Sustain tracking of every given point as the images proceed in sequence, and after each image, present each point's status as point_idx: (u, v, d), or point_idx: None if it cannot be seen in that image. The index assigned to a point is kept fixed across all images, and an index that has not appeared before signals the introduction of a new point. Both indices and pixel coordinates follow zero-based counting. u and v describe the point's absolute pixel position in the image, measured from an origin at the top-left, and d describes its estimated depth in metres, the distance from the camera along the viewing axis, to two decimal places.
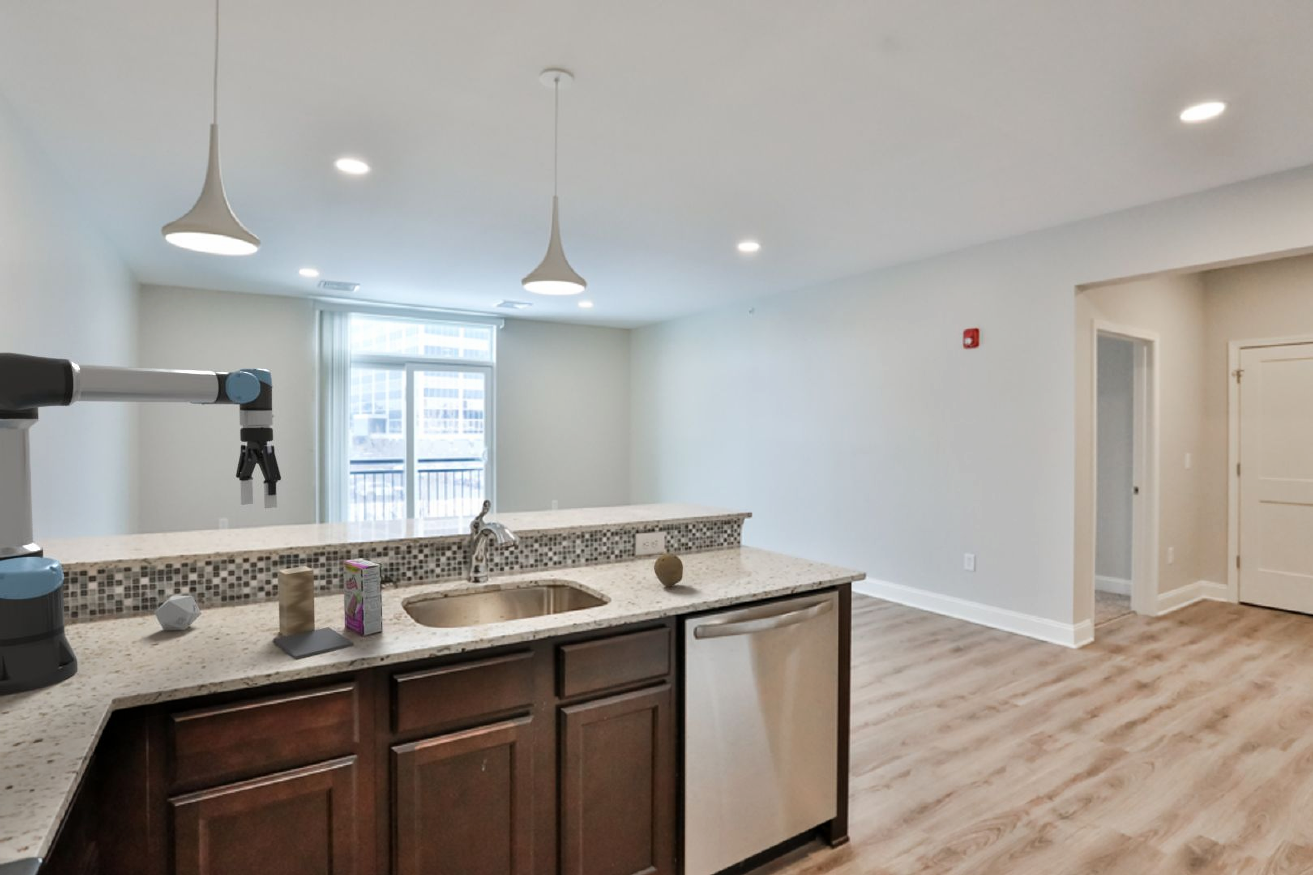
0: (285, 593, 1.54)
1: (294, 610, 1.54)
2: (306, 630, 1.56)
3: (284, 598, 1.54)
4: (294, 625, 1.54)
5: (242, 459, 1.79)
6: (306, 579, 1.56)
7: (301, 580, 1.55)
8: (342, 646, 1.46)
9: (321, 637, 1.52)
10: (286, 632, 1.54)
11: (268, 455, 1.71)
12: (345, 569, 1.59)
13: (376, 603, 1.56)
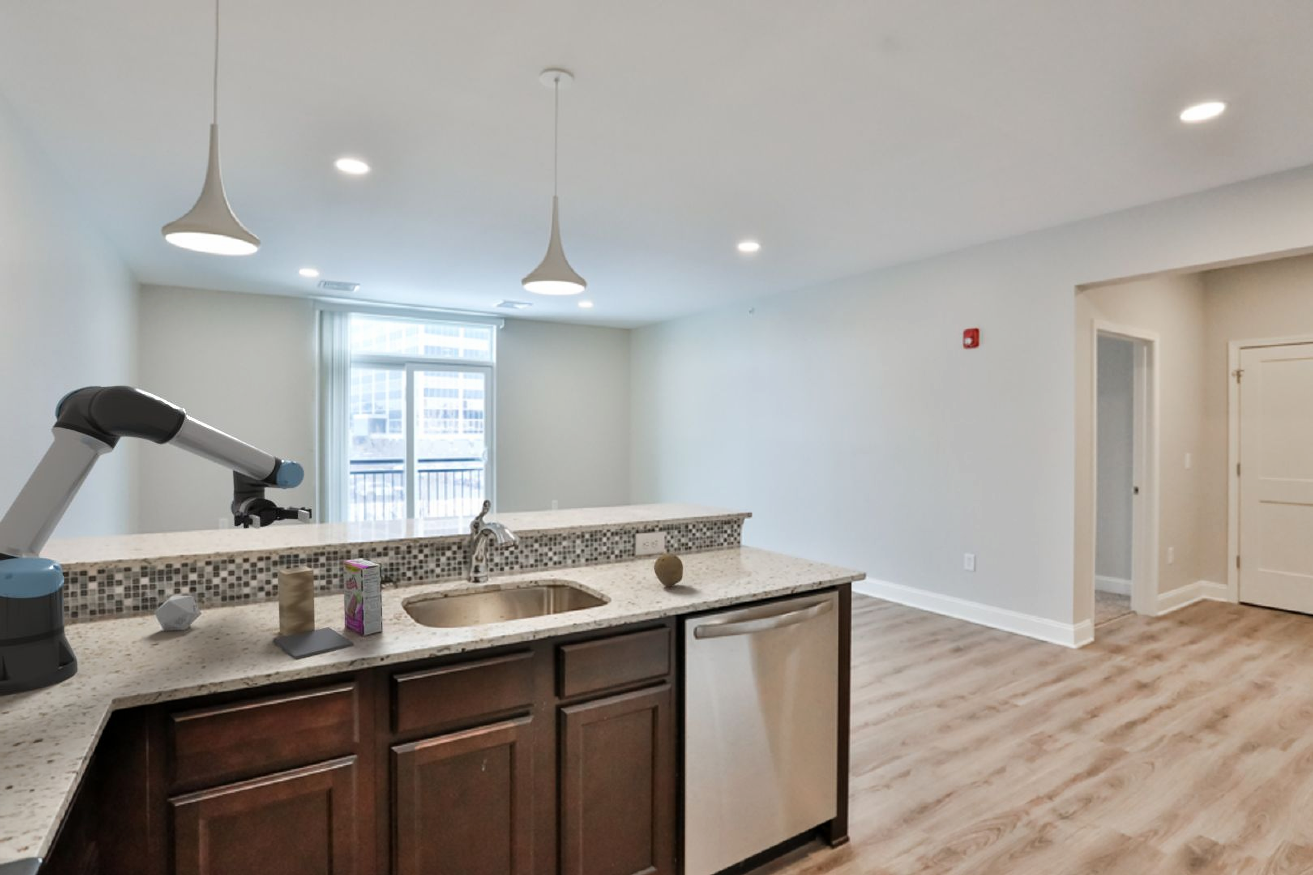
0: (285, 593, 1.54)
1: (294, 610, 1.54)
2: (306, 630, 1.56)
3: (284, 598, 1.54)
4: (294, 625, 1.54)
5: (242, 514, 1.68)
6: (306, 579, 1.56)
7: (301, 580, 1.55)
8: (342, 646, 1.46)
9: (321, 637, 1.52)
10: (286, 632, 1.54)
11: None
12: (345, 569, 1.59)
13: (376, 603, 1.56)
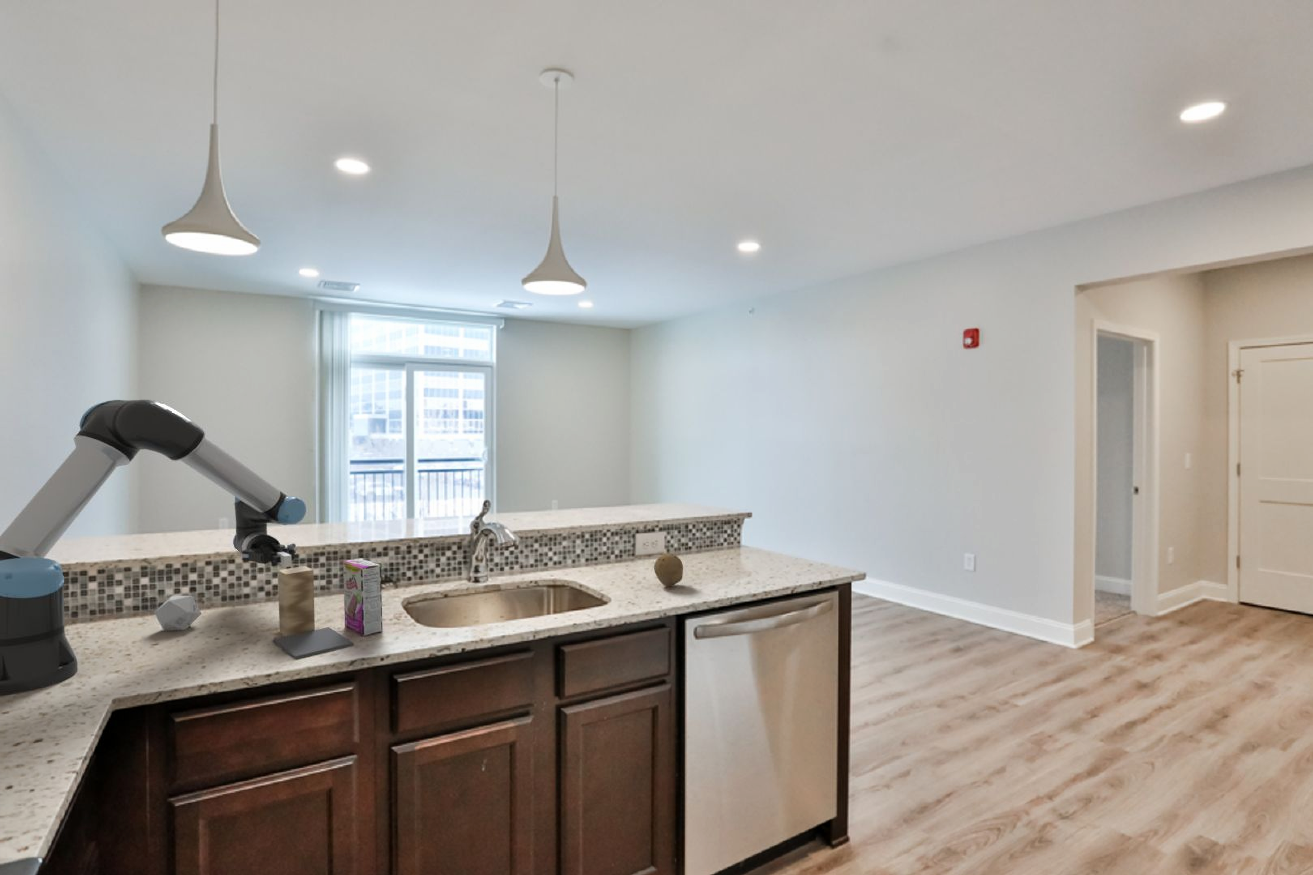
0: (285, 593, 1.54)
1: (294, 610, 1.54)
2: (306, 630, 1.56)
3: (284, 598, 1.54)
4: (294, 625, 1.54)
5: None
6: (306, 579, 1.56)
7: (301, 580, 1.55)
8: (342, 646, 1.46)
9: (321, 637, 1.52)
10: (286, 632, 1.54)
11: None
12: (345, 569, 1.59)
13: (376, 603, 1.56)
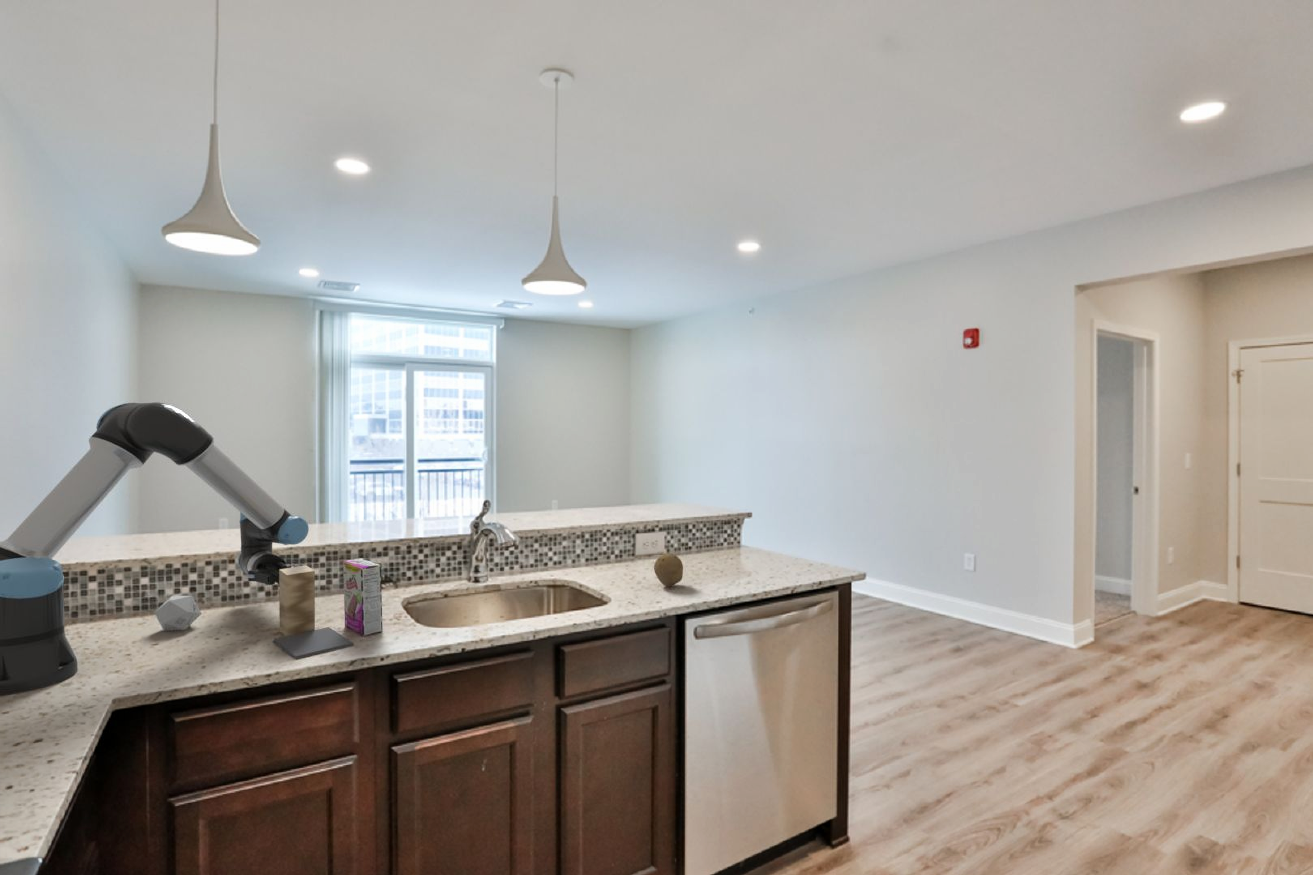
0: (286, 594, 1.53)
1: (294, 610, 1.54)
2: (306, 630, 1.56)
3: (285, 598, 1.54)
4: (294, 625, 1.54)
5: None
6: (307, 580, 1.56)
7: (302, 581, 1.55)
8: (342, 646, 1.46)
9: (321, 637, 1.52)
10: (286, 632, 1.54)
11: None
12: (345, 569, 1.59)
13: (376, 603, 1.56)
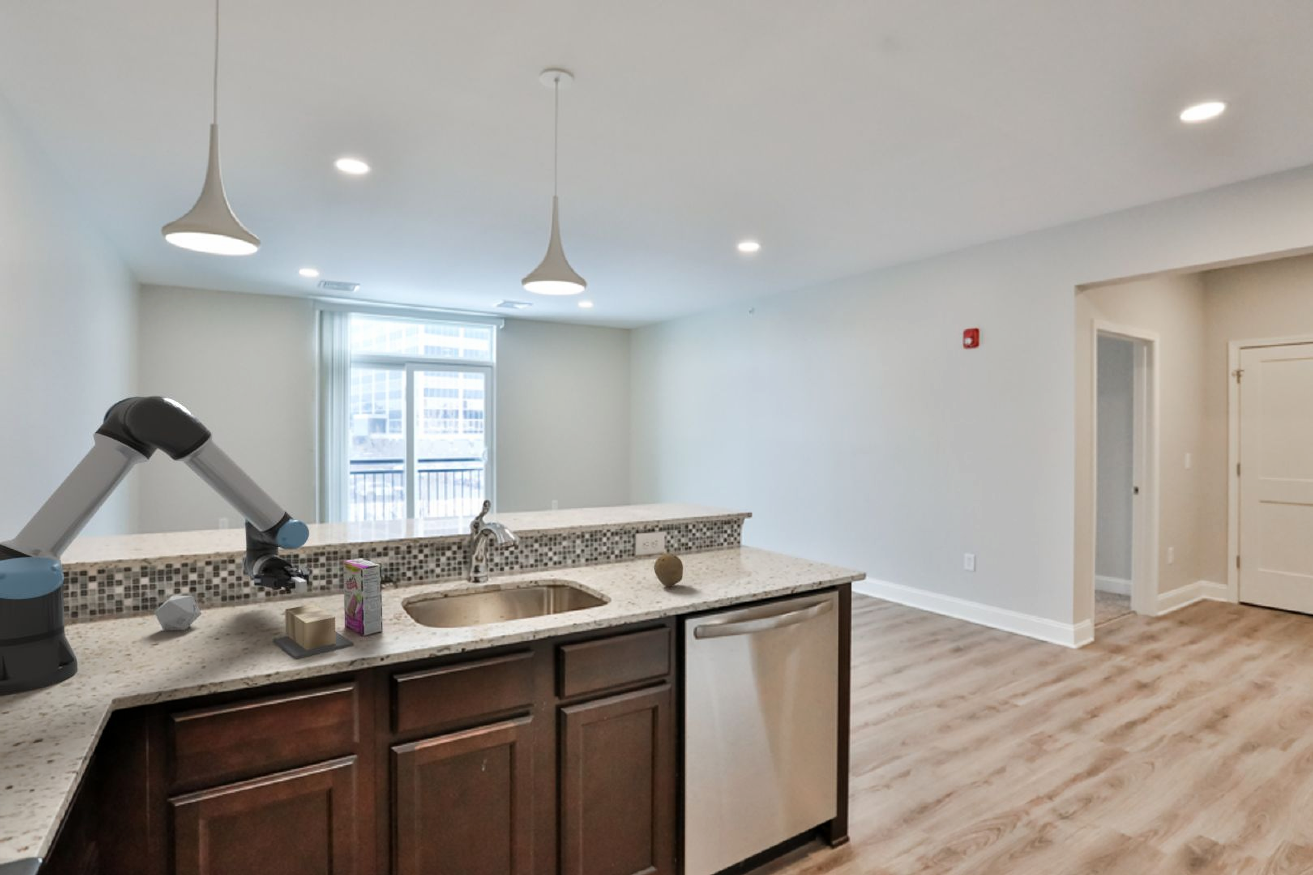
0: (299, 642, 1.47)
1: None
2: None
3: (297, 637, 1.47)
4: None
5: None
6: None
7: None
8: (342, 646, 1.46)
9: None
10: (287, 633, 1.53)
11: None
12: (345, 569, 1.59)
13: (376, 603, 1.56)
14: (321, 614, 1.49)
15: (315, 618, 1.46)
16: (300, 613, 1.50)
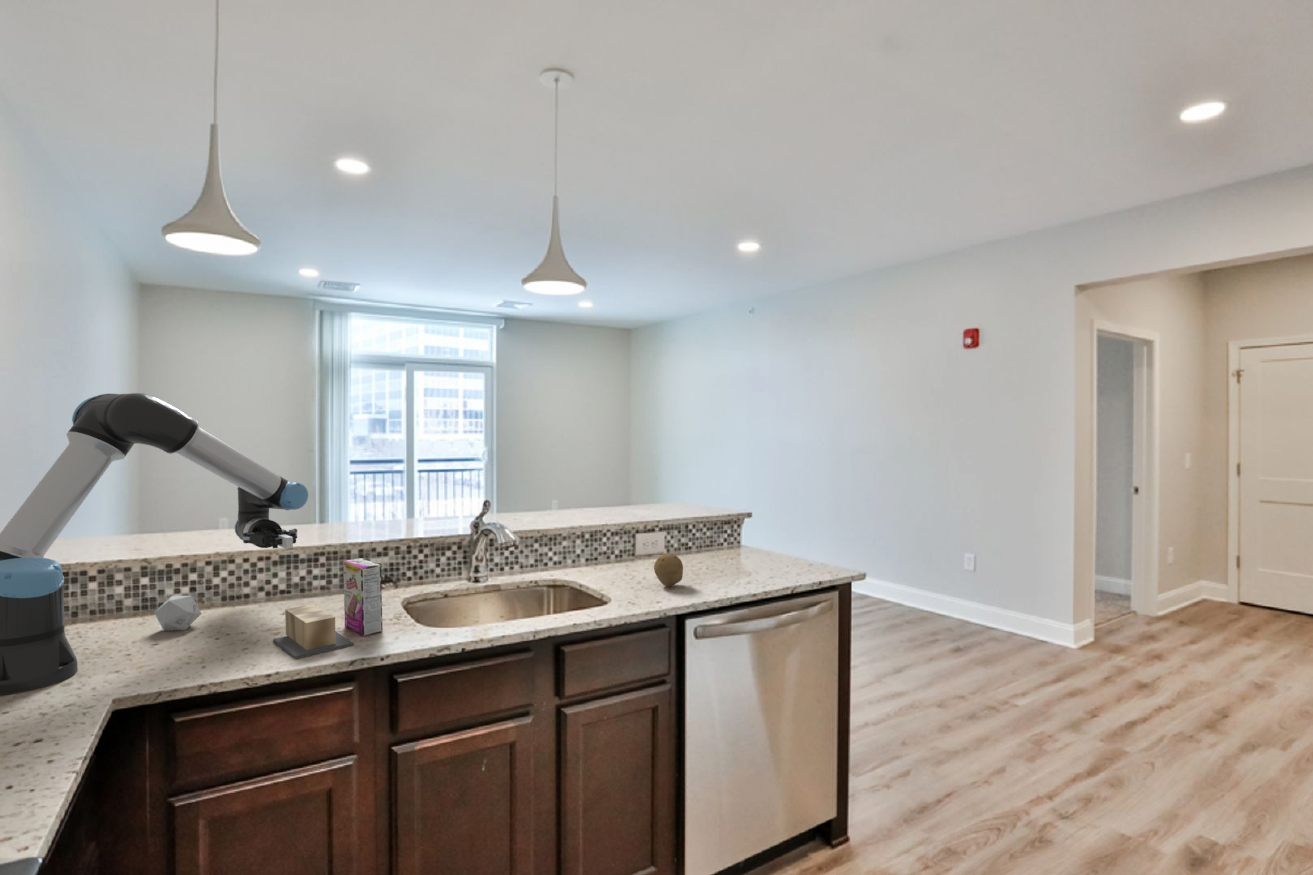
0: (299, 642, 1.47)
1: None
2: None
3: (297, 637, 1.47)
4: None
5: None
6: None
7: None
8: (342, 646, 1.46)
9: None
10: (287, 633, 1.53)
11: None
12: (345, 569, 1.59)
13: (376, 603, 1.56)
14: (321, 614, 1.49)
15: (315, 618, 1.46)
16: (300, 613, 1.50)
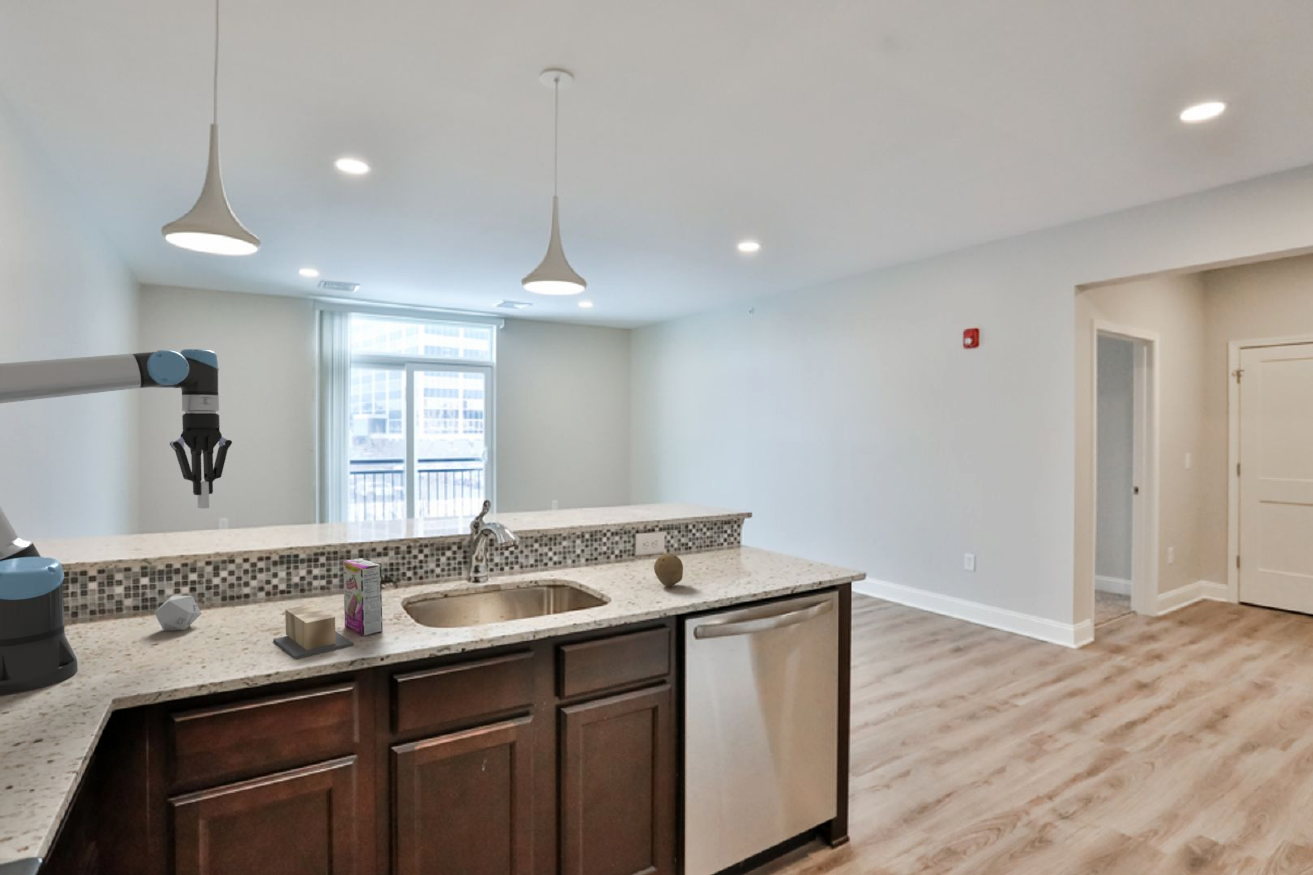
0: (299, 642, 1.47)
1: None
2: None
3: (297, 637, 1.47)
4: None
5: (217, 453, 1.66)
6: None
7: None
8: (342, 646, 1.46)
9: None
10: (287, 633, 1.53)
11: (176, 452, 1.58)
12: (345, 569, 1.59)
13: (376, 603, 1.56)
14: (321, 614, 1.49)
15: (315, 618, 1.46)
16: (300, 613, 1.50)
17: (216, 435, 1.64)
